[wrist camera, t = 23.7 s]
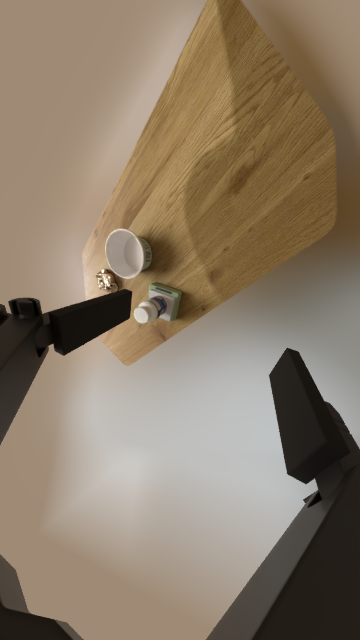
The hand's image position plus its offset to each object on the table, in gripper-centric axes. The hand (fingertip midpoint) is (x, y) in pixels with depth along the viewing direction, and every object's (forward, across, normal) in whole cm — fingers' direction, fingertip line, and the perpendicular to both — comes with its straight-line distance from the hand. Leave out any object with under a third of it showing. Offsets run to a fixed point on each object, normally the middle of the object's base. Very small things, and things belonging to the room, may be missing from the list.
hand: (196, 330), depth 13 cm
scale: (+32, -16, -12) cm, 37 cm away
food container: (+32, -27, -1) cm, 42 cm away
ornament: (+32, -37, -12) cm, 50 cm away
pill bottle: (+28, -16, -12) cm, 34 cm away
